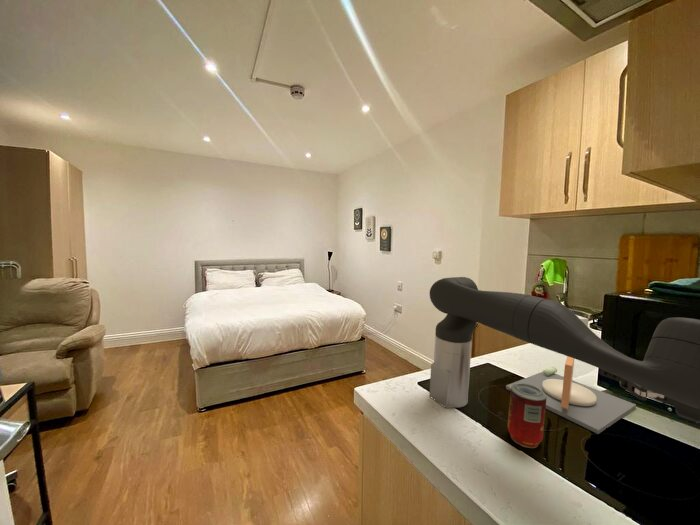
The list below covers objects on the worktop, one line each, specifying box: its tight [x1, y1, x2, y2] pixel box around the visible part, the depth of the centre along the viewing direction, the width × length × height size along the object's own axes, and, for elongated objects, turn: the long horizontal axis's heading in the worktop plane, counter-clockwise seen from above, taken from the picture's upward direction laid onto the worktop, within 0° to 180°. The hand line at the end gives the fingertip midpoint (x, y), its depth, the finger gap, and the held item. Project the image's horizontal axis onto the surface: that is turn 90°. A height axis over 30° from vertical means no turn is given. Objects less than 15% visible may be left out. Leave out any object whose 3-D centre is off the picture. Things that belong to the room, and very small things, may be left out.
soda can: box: [507, 383, 547, 449], centre depth 63 cm, size 7×7×12 cm
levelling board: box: [505, 366, 637, 435], centre depth 81 cm, size 24×22×3 cm
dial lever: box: [542, 356, 596, 409], centre depth 78 cm, size 18×12×12 cm, turn 139°
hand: (600, 369), depth 68 cm, fingers closed
